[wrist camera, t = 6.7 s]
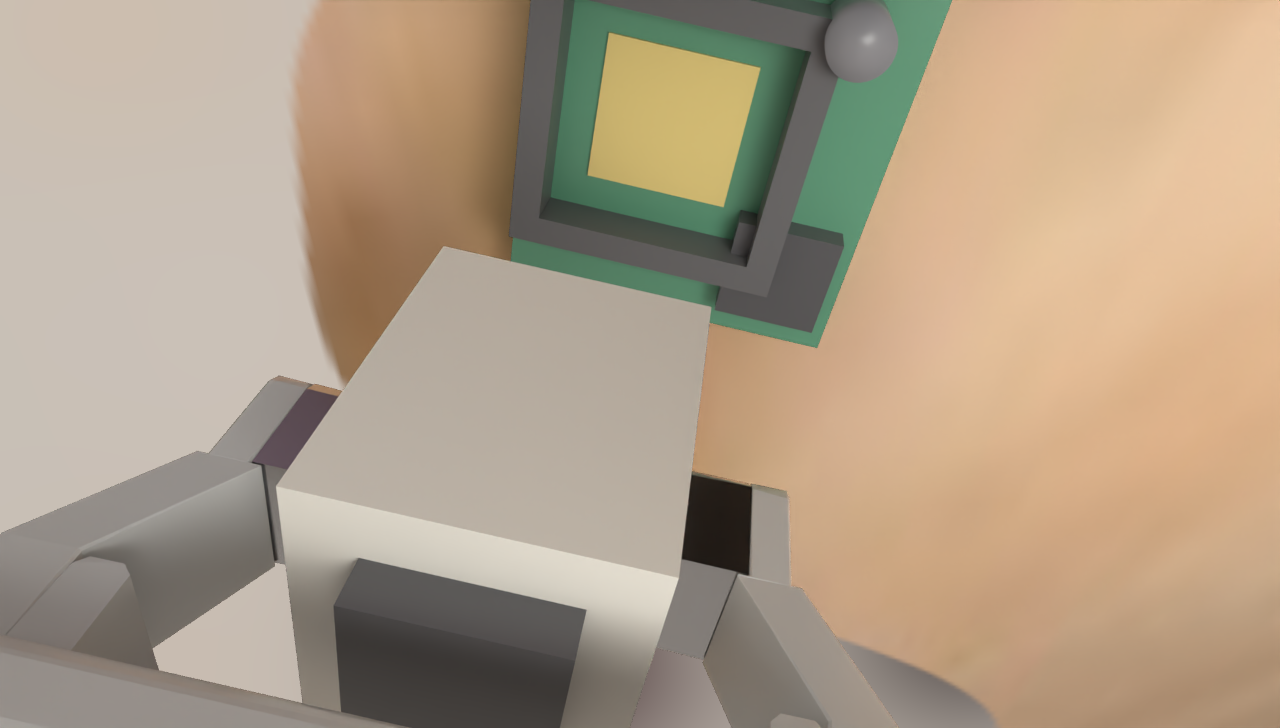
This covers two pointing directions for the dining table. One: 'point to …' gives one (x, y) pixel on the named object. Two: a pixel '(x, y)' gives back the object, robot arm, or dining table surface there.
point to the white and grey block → (497, 503)
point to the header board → (713, 146)
